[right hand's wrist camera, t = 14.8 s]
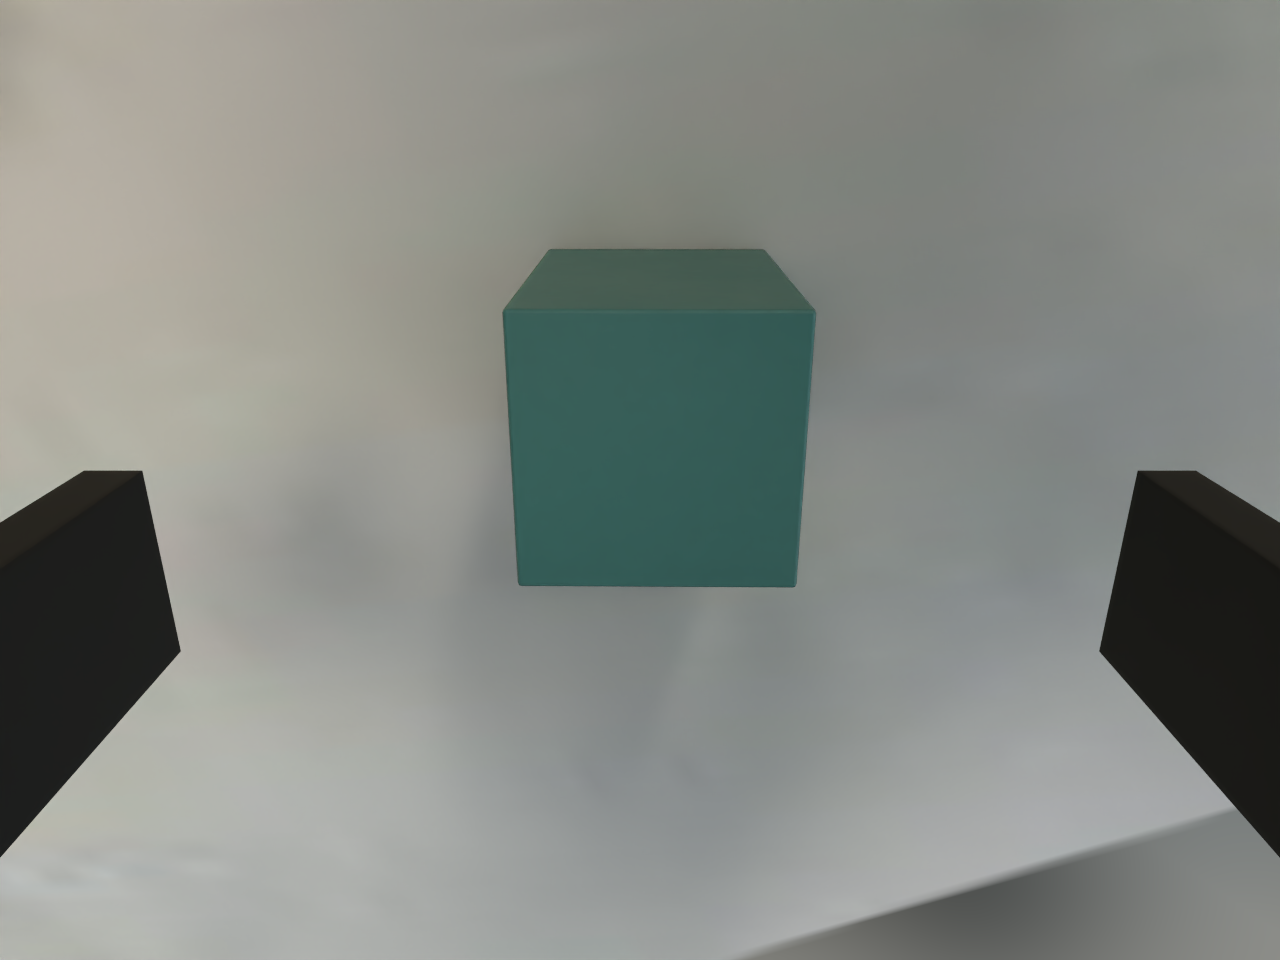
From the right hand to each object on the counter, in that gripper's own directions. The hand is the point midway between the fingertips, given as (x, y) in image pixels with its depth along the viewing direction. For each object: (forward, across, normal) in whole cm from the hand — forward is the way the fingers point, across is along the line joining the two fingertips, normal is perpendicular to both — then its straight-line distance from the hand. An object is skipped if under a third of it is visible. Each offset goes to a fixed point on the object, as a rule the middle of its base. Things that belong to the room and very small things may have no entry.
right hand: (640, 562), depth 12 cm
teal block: (+10, 0, 0) cm, 10 cm away
